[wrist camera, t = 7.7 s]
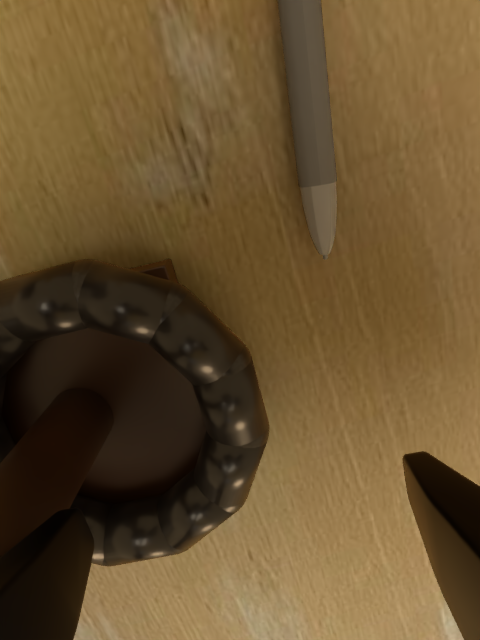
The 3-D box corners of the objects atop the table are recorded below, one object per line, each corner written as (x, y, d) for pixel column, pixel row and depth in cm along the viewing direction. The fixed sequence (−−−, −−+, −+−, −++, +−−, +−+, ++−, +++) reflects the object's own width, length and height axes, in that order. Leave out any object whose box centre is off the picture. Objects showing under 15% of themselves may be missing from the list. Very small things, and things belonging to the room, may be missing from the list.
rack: (236, 474, 16) (227, 717, 9) (28, 516, 17) (-133, 771, 10) (170, 258, 14) (85, 354, 7) (-69, 318, 14) (-379, 464, 7)
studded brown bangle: (292, 503, 15) (298, 545, 13) (28, 554, 16) (2, 599, 14) (218, 221, 12) (213, 229, 11) (-99, 302, 13) (-151, 322, 12)
